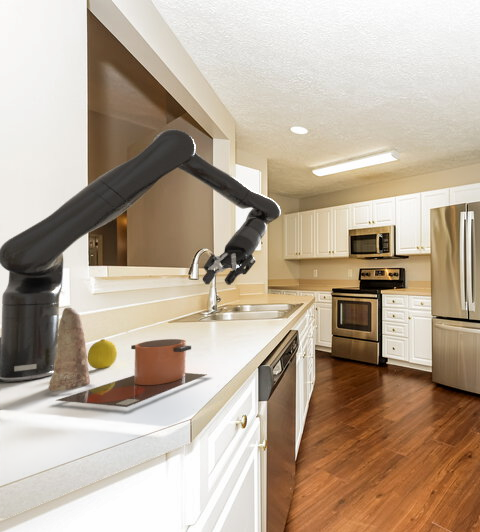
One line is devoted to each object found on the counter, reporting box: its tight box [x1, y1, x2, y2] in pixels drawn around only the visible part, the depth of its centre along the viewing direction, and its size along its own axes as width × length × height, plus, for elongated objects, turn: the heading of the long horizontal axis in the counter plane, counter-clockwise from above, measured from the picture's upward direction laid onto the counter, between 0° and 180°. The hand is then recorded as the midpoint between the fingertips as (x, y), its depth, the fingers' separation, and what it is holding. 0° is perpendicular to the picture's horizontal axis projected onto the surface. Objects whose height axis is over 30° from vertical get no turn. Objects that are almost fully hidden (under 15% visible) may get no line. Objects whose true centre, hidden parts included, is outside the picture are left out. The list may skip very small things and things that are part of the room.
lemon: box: [87, 338, 118, 370], centre depth 86 cm, size 6×6×8 cm
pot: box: [130, 338, 192, 385], centre depth 77 cm, size 13×9×8 cm
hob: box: [55, 372, 208, 408], centre depth 72 cm, size 16×20×1 cm
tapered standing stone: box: [48, 307, 91, 392], centre depth 71 cm, size 6×18×6 cm
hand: (216, 282), depth 94 cm, fingers open, 6 cm apart
